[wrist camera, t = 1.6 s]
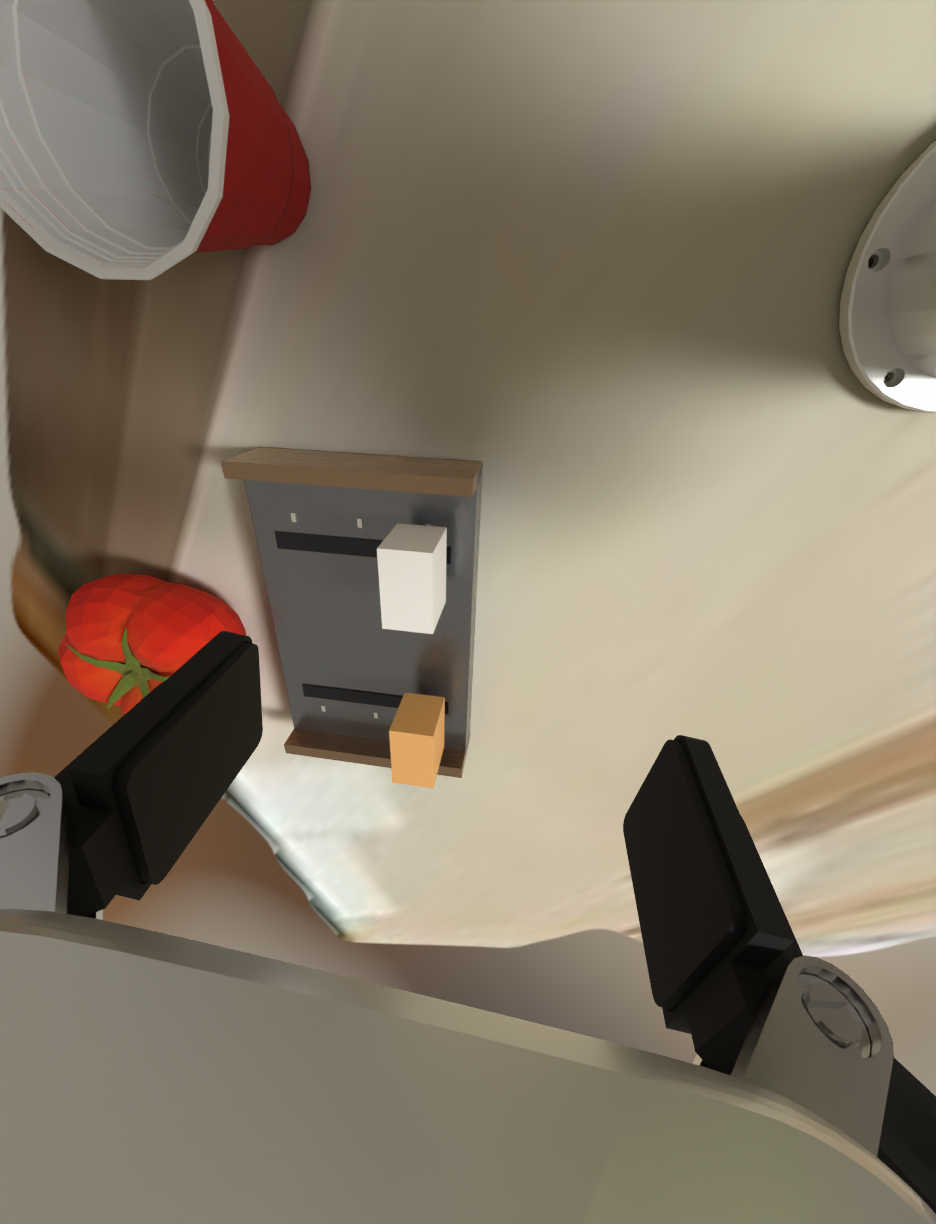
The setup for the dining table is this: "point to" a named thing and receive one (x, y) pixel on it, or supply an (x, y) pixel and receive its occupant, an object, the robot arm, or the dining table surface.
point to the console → (362, 593)
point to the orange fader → (417, 739)
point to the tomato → (136, 634)
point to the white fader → (412, 577)
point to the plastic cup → (141, 135)
